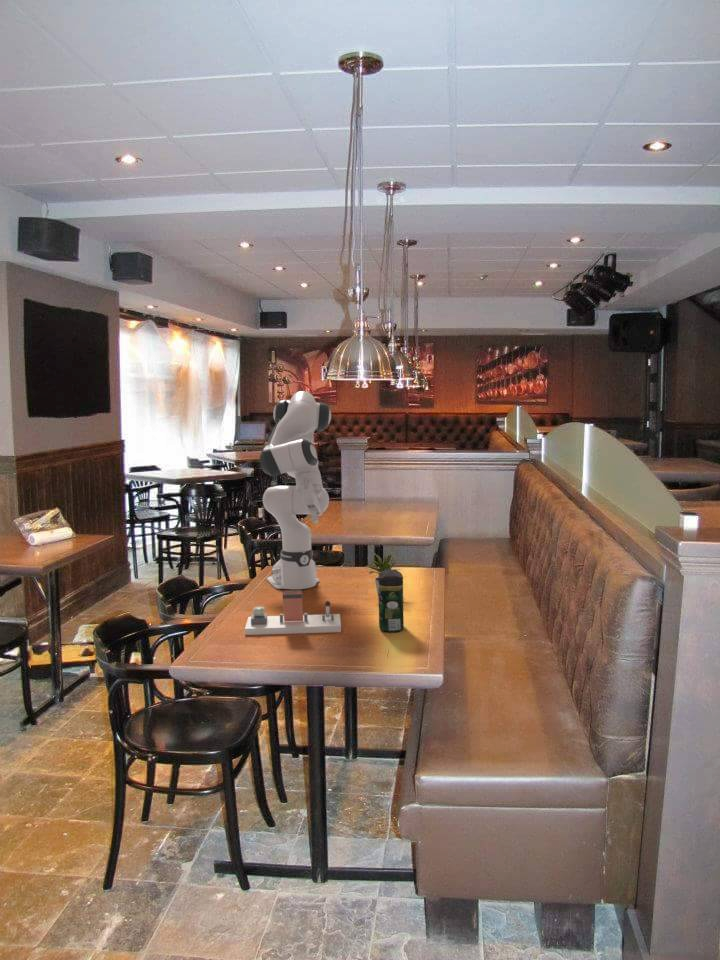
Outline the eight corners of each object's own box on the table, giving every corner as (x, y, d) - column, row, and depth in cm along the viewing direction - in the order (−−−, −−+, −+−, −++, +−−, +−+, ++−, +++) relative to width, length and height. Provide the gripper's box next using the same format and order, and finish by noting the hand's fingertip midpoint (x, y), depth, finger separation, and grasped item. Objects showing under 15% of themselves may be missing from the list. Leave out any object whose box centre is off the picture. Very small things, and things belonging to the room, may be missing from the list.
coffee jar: (378, 623, 237) (377, 567, 235) (402, 622, 237) (402, 567, 235) (379, 633, 228) (378, 575, 225) (404, 633, 228) (404, 575, 225)
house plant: (373, 587, 279) (373, 545, 277) (407, 590, 274) (407, 548, 272) (359, 597, 266) (359, 554, 264) (395, 601, 261) (395, 556, 259)
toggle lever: (325, 616, 235) (324, 601, 237) (330, 616, 236) (330, 601, 237) (325, 616, 234) (324, 600, 235) (330, 616, 234) (330, 600, 235)
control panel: (248, 622, 239) (248, 609, 239) (339, 619, 241) (339, 606, 240) (245, 635, 227) (244, 621, 227) (341, 631, 229) (340, 618, 229)
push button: (253, 612, 235) (253, 606, 234) (265, 612, 235) (264, 606, 235) (252, 616, 231) (252, 610, 231) (264, 615, 231) (264, 609, 231)
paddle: (284, 617, 234) (282, 590, 227) (303, 617, 235) (302, 590, 228) (284, 621, 233) (282, 594, 226) (303, 621, 233) (302, 594, 226)
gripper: (313, 473, 240) (320, 513, 235) (322, 490, 259) (328, 527, 255) (294, 477, 240) (300, 516, 236) (305, 494, 259) (311, 531, 255)
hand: (315, 522), depth 245 cm, fingers closed
